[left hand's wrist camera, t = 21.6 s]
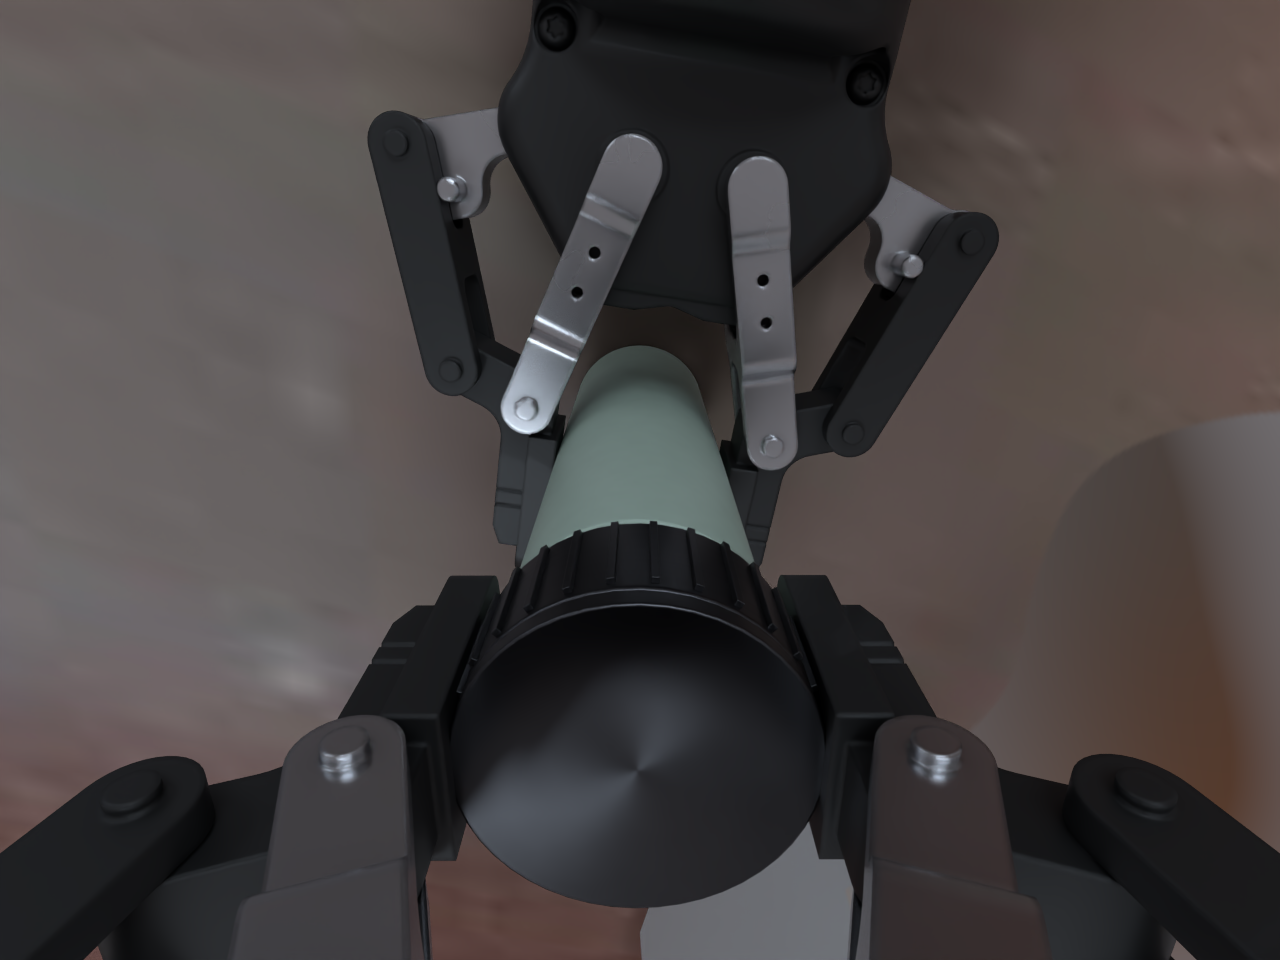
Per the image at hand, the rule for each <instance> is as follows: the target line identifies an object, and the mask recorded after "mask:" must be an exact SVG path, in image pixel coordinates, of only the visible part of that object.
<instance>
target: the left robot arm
mask: <svg viewBox="0 0 1280 960" xmlns="http://www.w3.org/2000/svg"><path fill="white" fill-rule="evenodd" d="M777 588H778V590H779V591H780V594H781V597H782V599H783V602H784V605H785V608H786V610H787V613H788V616H789V617H790V616H792V617H793V620H794V623H795V626H796V628H797V631H798V634H799V636H800V639H801V642H802V645H803V647H804V650H805V653H806V655H807V658H808V661H809V664H810V666H811V669H812V672H813V674H814V677H815V680H816V682H817V685H818V688H819V691H818V692H815V693H813V694H814V696H815V699H816V702H817V705H818V707H819V710H820V714H821V717H822V721H823V724H824V728H825V732H826V743H825V754H824V763H823V773H822V782H821V790H820V797H819V801H818V804H817V806H816V809H815V811H814V813H813V815H812V816H811V818H810V820H809V824H810V828H811V831H812V835H813V839H814V843H815V846H816V850H817V854H818V857H819V859H844V861H845V864H846V867H847V871H848V874H849V877H850V880H851V884H852V886H853V893H852V900H851V911H850V926H849V940H848V954H847V960H1174V959H1173V958H1172V957H1171V953H1172V950H1173V948H1174V945H1175V942H1176V940H1177V941H1178V942H1179V943H1180V944H1181V945H1182V946H1183V947H1184V948H1185V949H1186V950H1187V951H1188V952H1189V953H1190V954H1191V955H1193V957H1194V958H1195V959H1197V960H1280V853H1279V852H1277V851H1276V850H1275V849H1273V848H1272V847H1271V846H1269V845H1268V844H1267V843H1266V842H1264V841H1263V840H1261V839H1260V838H1259V837H1258V836H1256V835H1255V834H1254V833H1252V832H1251V831H1250V830H1249V829H1247V828H1246V827H1245V826H1243V825H1242V824H1241V823H1239V822H1238V821H1237V820H1235V819H1234V818H1233V817H1231V816H1230V815H1229V814H1228V813H1226V812H1225V811H1224V810H1222V809H1221V808H1220V807H1218V806H1217V805H1216V804H1214V803H1213V802H1212V801H1211V800H1209V799H1208V798H1207V797H1205V796H1204V795H1203V794H1201V793H1200V792H1199V791H1197V790H1196V789H1195V788H1194V787H1192V786H1191V785H1189V784H1188V783H1187V782H1185V781H1184V780H1182V779H1181V778H1179V777H1178V776H1176V775H1174V774H1172V773H1171V772H1169V771H1167V770H1165V769H1163V768H1160V767H1158V766H1156V765H1153V764H1151V763H1148V762H1146V761H1143V760H1139V759H1136V758H1133V757H1128V756H1123V755H1115V754H1097V755H1091V756H1088V757H1085V758H1083V759H1081V760H1080V761H1078V762H1077V764H1076V765H1075V766H1074V768H1073V771H1072V774H1071V778H1070V781H1069V785H1066V784H1062V783H1057V782H1053V781H1049V780H1044V779H1040V778H1035V777H1031V776H1027V775H1022V774H1018V773H1014V772H1010V771H1007V770H1003V769H1001V768H998V767H997V764H996V760H995V758H994V756H993V754H992V752H991V751H990V750H989V748H988V747H987V746H986V745H985V744H984V743H983V742H982V741H981V740H980V739H979V738H978V737H976V736H975V735H974V734H972V733H971V732H969V731H968V730H966V729H964V728H963V727H961V726H959V725H956V724H954V723H952V722H949V721H946V720H943V719H940V718H937V717H936V715H935V713H934V712H933V710H932V708H931V706H930V705H929V703H928V701H927V699H926V698H925V696H924V694H923V692H922V691H921V689H920V687H919V685H918V684H917V682H916V680H915V678H914V677H913V675H912V673H911V671H910V670H909V668H908V666H907V664H904V659H903V657H902V656H901V654H900V652H899V650H898V649H897V647H894V642H893V640H892V638H891V636H890V635H889V633H888V631H887V629H886V628H885V626H884V624H883V622H881V621H880V620H879V619H878V618H876V617H875V616H874V615H872V614H871V613H870V612H868V611H867V610H866V609H864V608H863V607H862V606H860V605H841V604H840V601H839V599H838V597H837V595H836V593H835V591H834V589H833V587H832V585H831V583H830V581H829V579H828V578H827V576H826V575H781V576H780V577H779V580H778V585H777ZM495 593H498V594H500V591H499V583H498V579H497V577H496V576H450V577H449V578H448V580H447V582H446V584H445V586H444V588H443V590H442V592H441V594H440V596H439V598H438V600H437V602H436V604H435V606H415V607H414V608H412V609H411V610H410V611H408V612H407V613H406V614H404V615H403V616H402V617H401V618H399V619H398V620H397V621H395V622H394V623H393V624H392V626H391V628H390V630H389V631H388V633H387V635H386V636H385V638H384V640H383V642H382V646H381V647H379V648H378V650H377V652H376V654H375V655H374V657H373V659H372V664H369V666H368V667H367V669H366V671H365V673H364V674H363V676H362V678H361V679H360V681H359V683H358V685H357V686H356V688H355V690H354V692H353V693H352V695H351V697H350V698H349V700H348V702H347V704H346V705H345V707H344V709H343V710H342V712H341V714H340V716H339V717H338V719H337V720H334V721H331V722H328V723H326V724H324V725H321V726H319V727H317V728H316V729H314V730H312V731H311V732H309V733H308V734H306V735H305V736H304V737H302V738H301V739H300V740H299V741H298V742H297V743H296V744H295V745H294V746H293V747H292V748H291V750H290V751H289V752H288V754H287V756H286V758H285V760H284V764H283V766H282V767H280V768H277V769H274V770H271V771H268V772H264V773H261V774H257V775H253V776H248V777H244V778H240V779H235V780H231V781H226V782H222V783H218V784H213V785H209V786H208V782H207V778H206V775H205V772H204V769H203V768H202V767H201V765H200V764H199V763H197V762H196V761H194V760H192V759H189V758H186V757H179V756H164V757H155V758H151V759H146V760H142V761H139V762H135V763H132V764H129V765H127V766H124V767H122V768H119V769H117V770H115V771H113V772H111V773H109V774H107V775H105V776H103V777H102V778H100V779H98V780H97V781H95V782H94V783H92V784H91V785H89V786H88V787H86V788H85V789H84V790H83V791H81V792H80V793H79V794H77V795H76V796H75V797H73V798H72V799H71V800H69V801H68V802H67V803H65V804H64V805H63V806H62V807H60V808H59V809H58V810H56V811H55V812H54V813H52V814H51V815H50V816H48V817H47V818H46V819H45V820H43V821H42V822H41V823H39V824H38V825H37V826H35V827H34V828H33V829H31V830H30V831H29V832H28V833H26V834H25V835H24V836H22V837H21V838H20V839H18V840H17V841H16V842H14V843H13V844H12V845H11V846H9V847H8V848H7V849H5V850H4V851H3V852H1V853H0V960H83V959H85V958H86V957H87V956H88V955H89V954H90V953H91V952H92V951H93V950H94V949H95V948H96V947H97V946H98V947H99V950H100V953H101V955H102V958H103V960H433V954H432V940H431V926H430V911H429V900H428V893H427V886H426V879H425V877H426V874H427V871H428V868H429V865H430V861H456V859H457V855H458V852H459V848H460V845H461V841H462V837H463V834H464V830H465V826H466V823H467V822H466V820H465V818H464V816H463V814H462V812H461V810H460V808H459V806H458V804H457V801H456V794H455V786H454V777H453V768H452V759H451V750H450V739H449V734H450V725H451V722H452V719H453V716H454V713H455V710H456V707H457V704H458V701H459V699H458V698H457V689H458V686H459V683H460V681H461V678H462V675H463V673H464V670H465V668H466V665H467V662H468V660H469V657H470V654H471V652H472V649H473V646H474V644H475V641H476V638H477V636H478V633H479V630H480V628H481V625H482V622H483V621H484V619H485V616H486V614H487V611H488V608H489V606H490V603H491V600H492V598H493V596H494V594H495Z"/></svg>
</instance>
